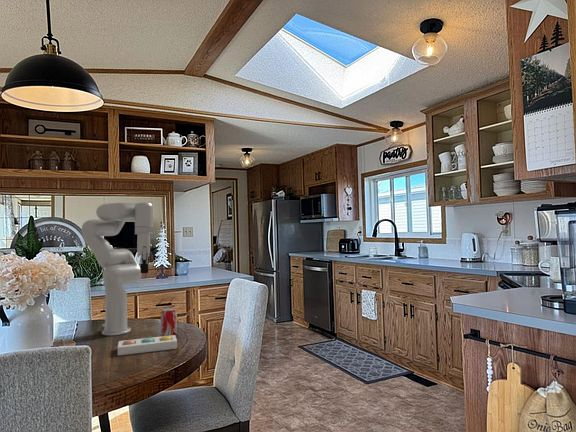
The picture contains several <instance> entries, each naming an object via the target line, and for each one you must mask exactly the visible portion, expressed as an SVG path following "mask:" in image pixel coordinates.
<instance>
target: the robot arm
mask: <svg viewBox="0 0 576 432" xmlns="http://www.w3.org/2000/svg"><path fill="white" fill-rule="evenodd" d="M96 216H97V218H98V219H94V218H93V219H88V220H86V221H85V222H83V223H82V225H81V235H82V239H83V241H84V242H85V244H86V245H87V246H88V247H89V248H90V250H91V251H92V253H93V255H94V257H95V259H96V261H97V263H98V264H99V266H100V267H101V268H102V269H103V272H102V281H103V286H104V295H105V297H104V301H105V302H104V307H105V308H104V309H105V311H104V315H105V317H104V319H105V321H104V323H102V324H101V327H102V328H104V329H103V330H101V335H103V336H119V335H124V334H127V333H130V332H131V330H132V328H131V327H128V293H127V291H126V289H125V288H124V287H123V285H130V284H136V283H138V282H139V281H141V279H142V277H143V276H142V275H143V274H149V261H148V260H149V257H150V253H151V235H153V234H154V205H153V204H152V203H150V202H136V203H134V202H133V203H132V202H112V203H102V204H100V205H99V206H98V207H97V208H96ZM127 221H134V235H137V242H136V244H137V245H136V247H137V248H136V249H137V254H136V255H137V257H138V258H140V264H139V263H138V262H137V260H136V258H135V256H134V254H133V253H132V251H130V250H129V249H126V248H113V246H111V244H110V242H109V241H108V240H107V239H105V238H103V237H113V236H116V235H118V234H120V232H121V230H122V228H123V227H124V225H125V223H126V222H127Z"/></svg>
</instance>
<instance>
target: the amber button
mask: <svg viewBox="0 0 576 432" xmlns="http://www.w3.org/2000/svg"><path fill="white" fill-rule="evenodd" d="M160 337H161V336H160ZM166 340H171V336H164V337H161V341H166Z"/></svg>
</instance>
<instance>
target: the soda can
mask: <svg viewBox="0 0 576 432" xmlns="http://www.w3.org/2000/svg"><path fill="white" fill-rule="evenodd" d="M177 334H178V313H177V310H176V308H174V307H166V308H162V309H161V313H160V335H161V336H171V335H175V336H176V335H177Z"/></svg>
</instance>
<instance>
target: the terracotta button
mask: <svg viewBox="0 0 576 432" xmlns="http://www.w3.org/2000/svg"><path fill="white" fill-rule="evenodd" d="M126 340H127V339H126ZM123 341H124V340H123ZM130 344H135V341H134V340H133V339H128V340H127V341H124V345H130Z"/></svg>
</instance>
